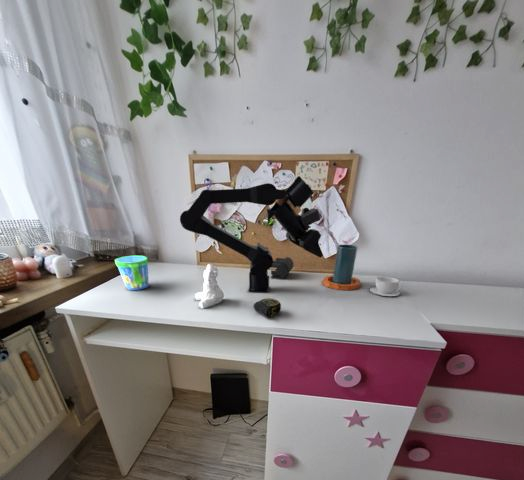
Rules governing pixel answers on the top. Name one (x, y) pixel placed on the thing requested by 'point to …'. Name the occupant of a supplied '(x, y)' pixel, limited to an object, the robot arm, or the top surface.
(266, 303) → the tape measure
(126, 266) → the snack cup
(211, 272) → the sitting furry creature
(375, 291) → the teacup
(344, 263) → the cup
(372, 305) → the top surface
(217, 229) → the robot arm
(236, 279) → the top surface
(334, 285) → the ring
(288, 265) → the end cap
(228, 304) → the top surface
